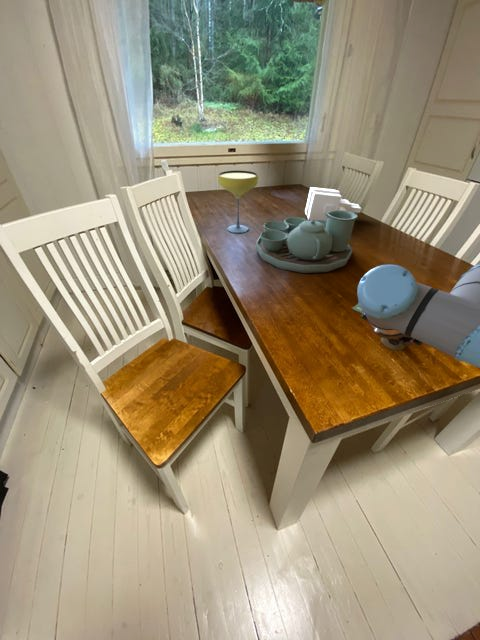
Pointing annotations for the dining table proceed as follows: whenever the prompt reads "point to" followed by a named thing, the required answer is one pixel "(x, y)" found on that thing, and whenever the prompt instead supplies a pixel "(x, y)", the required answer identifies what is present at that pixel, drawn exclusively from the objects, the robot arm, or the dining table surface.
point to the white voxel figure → (326, 203)
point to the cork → (390, 346)
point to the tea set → (308, 242)
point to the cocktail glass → (238, 190)
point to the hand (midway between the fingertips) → (394, 339)
